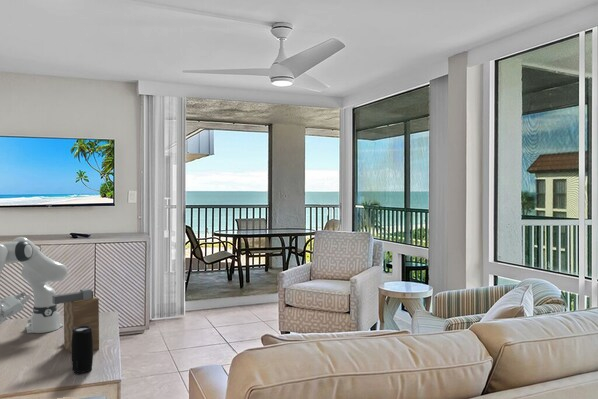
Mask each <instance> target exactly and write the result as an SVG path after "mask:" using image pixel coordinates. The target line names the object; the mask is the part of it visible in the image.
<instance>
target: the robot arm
mask: <svg viewBox="0 0 598 399" xmlns="http://www.w3.org/2000/svg"><path fill="white" fill-rule="evenodd" d="M15 263H20V264H21V265H22V266H23V267H22V269H21V277H22V278H23V279H24V280H25V281H26V282H27V283H28V284H29V286H30V288H31V290H32V294H33V308H32V314H31V316H30V318H28V319H27V324H26V326H25V328H26V333H27V334H33V333H34V334H40V333H41V334H42V333H50V332H54V331H56V330H58V329H60V328H62V327H64V323H61V315H60V312H59V311H57V310H58V304H53V303H52V296H54V295H57V294H56V293H57V292H56V290H55V288H53V287H52V286H50V284H49V282H50V283H56V282H60V281H64V280H65V279H66V277H67V275H68V267H67V265H65V264H63V263H60V262H58V261H56V260H54V259H52V258H50V257H48V256H47V255H45V254H44V253H43V252H42V251H41V250H40V249H39V248H38V246H36V244H34V243H33V241H31V240H30V239H28V238H26V237H24V236H18V237H15V238H14V239H12V241H8V242H2V243H1V242H0V275H1V274H2V272H3V270H4V267H5V265H7V264H8V265H9V264H10V265H11V264H15ZM23 297H24V298H23ZM21 298H22V299H21ZM31 299H32V296H31V295H29V294H26V291H25V292H24V291H22V292H20V293H18V294H15V295H14V296H13V295H11V294H10V295H8V296H6V297H3V298H1V299H0V325H1V324H3V323H4V322H6V321H7V320H8V318H11V317H12V316H15V315H17V313H20V312H21V311H23V310H24V309H25V304H26V303H27V302H28V301H29V300H31Z"/></svg>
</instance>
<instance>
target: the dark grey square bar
mask: <svg viewBox="0 0 598 399" xmlns="http://www.w3.org/2000/svg"><path fill="white" fill-rule="evenodd" d="M93 296H94V290H92V289H91V288H82V289H81V288H80V289H79V291H76V292H69V293H63V294H62V293H61V294H56V295H54V296H52V303H53V304H57V305H59V304H64V303H67V302H73V301H79V300H87V299H92V298H93Z"/></svg>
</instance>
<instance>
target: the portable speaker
mask: <svg viewBox="0 0 598 399" xmlns="http://www.w3.org/2000/svg"><path fill="white" fill-rule="evenodd" d="M72 332H73V333H72V341H71V350H72V353H71V365H72V371H73V374H75V375H82V374H83V373H85V372H91V371H92V370H93V359H94V351H93V338H92V329H91V327H90V326H88V325H84V326H80V327H77V328H73V331H72Z"/></svg>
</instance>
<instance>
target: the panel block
mask: <svg viewBox="0 0 598 399" xmlns="http://www.w3.org/2000/svg"><path fill="white" fill-rule="evenodd" d="M99 299H100V298H98V297H96V296H94V295H93V298H92V299H87V300H79V301H73V302H67V303H63V337H64V338H63V339H64V340H63V345H64V348H63V349H66V350H67V351H68V352H70V354H72V350H71V341H72V333H73V332H72V331H73V328H77V327H80V326H84V325H88V326H90V327H91V329H92V338H93V352H94V351H98V350H100V309H99V308H100V304H99Z"/></svg>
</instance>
